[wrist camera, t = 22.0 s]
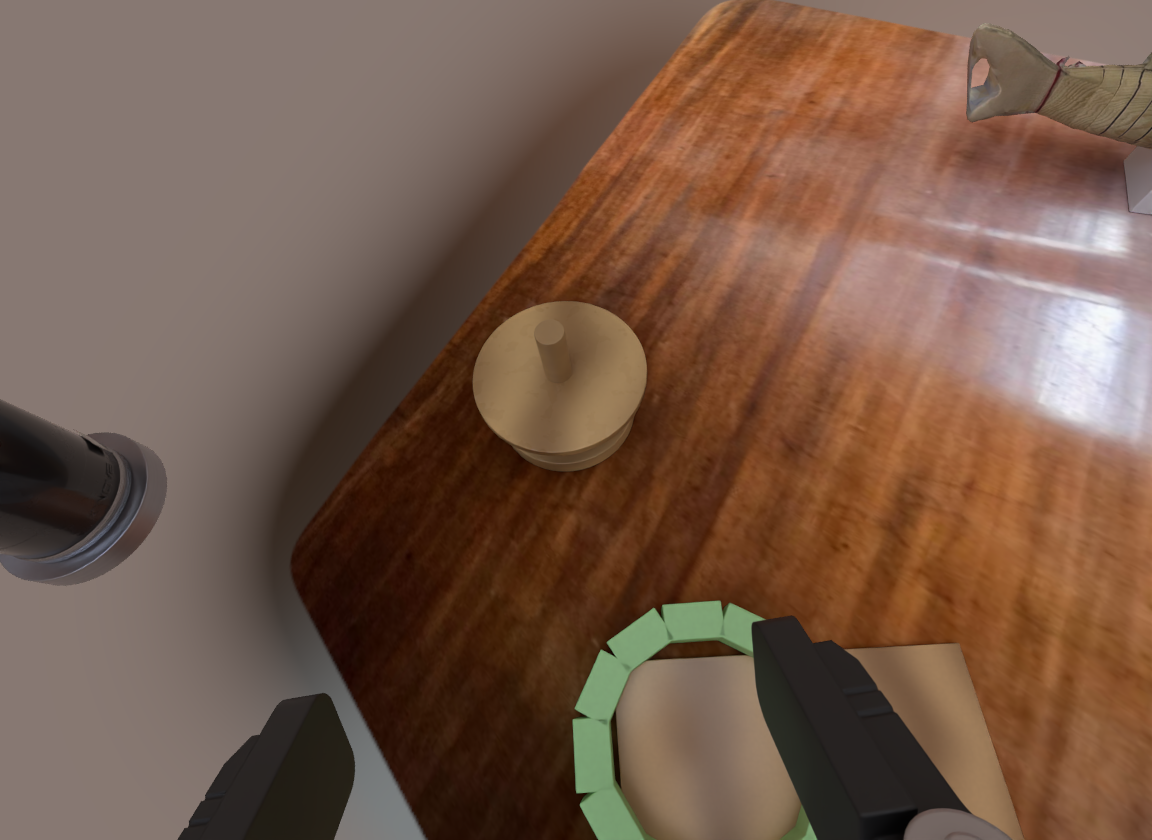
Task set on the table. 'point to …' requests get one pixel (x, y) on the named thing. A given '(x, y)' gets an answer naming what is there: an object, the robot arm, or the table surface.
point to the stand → (561, 384)
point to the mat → (751, 759)
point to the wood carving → (1068, 98)
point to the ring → (605, 686)
